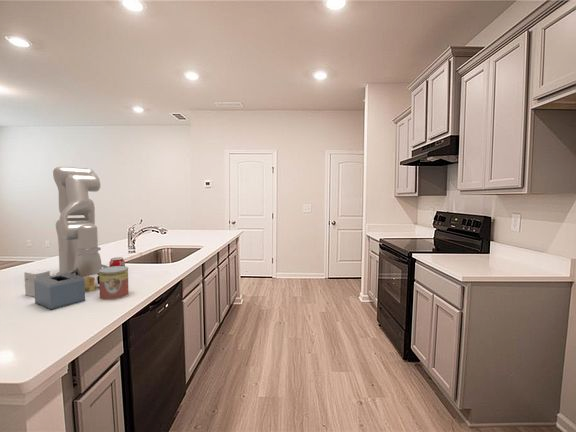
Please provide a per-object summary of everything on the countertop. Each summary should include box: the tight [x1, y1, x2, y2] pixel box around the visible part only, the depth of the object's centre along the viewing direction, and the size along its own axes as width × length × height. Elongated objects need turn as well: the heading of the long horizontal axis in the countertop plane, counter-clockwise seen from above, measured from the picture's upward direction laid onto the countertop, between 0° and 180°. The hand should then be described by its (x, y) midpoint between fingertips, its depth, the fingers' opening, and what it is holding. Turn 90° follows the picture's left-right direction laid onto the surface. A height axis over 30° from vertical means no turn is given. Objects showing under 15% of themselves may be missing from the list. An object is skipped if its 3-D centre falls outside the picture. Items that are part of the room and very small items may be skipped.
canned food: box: [98, 265, 130, 301], centre depth 128 cm, size 11×11×12 cm
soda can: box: [108, 256, 126, 267], centre depth 149 cm, size 7×7×12 cm
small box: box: [23, 269, 51, 298], centre depth 127 cm, size 8×6×10 cm
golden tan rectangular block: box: [84, 276, 96, 292], centre depth 134 cm, size 5×2×6 cm, turn 61°
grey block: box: [34, 273, 86, 311], centre depth 119 cm, size 14×12×10 cm
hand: (89, 287), depth 135 cm, fingers open, 9 cm apart
